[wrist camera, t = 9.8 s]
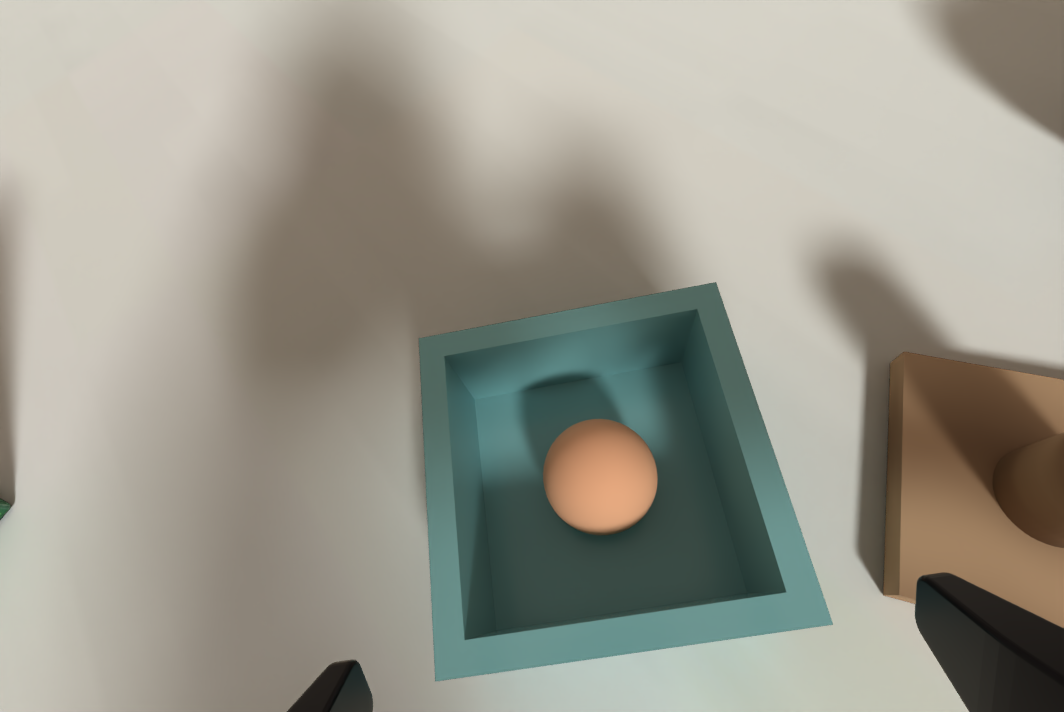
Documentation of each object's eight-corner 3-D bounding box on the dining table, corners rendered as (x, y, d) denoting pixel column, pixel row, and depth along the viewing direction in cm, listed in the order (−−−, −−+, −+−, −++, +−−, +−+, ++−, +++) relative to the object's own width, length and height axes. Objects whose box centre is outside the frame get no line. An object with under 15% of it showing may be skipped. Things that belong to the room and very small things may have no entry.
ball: (615, 562, 17) (629, 556, 14) (524, 501, 18) (517, 482, 15) (665, 470, 18) (689, 444, 15) (577, 417, 19) (582, 382, 16)
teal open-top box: (777, 616, 16) (832, 624, 12) (477, 660, 17) (435, 681, 13) (695, 344, 20) (715, 282, 16) (455, 387, 21) (418, 338, 17)
